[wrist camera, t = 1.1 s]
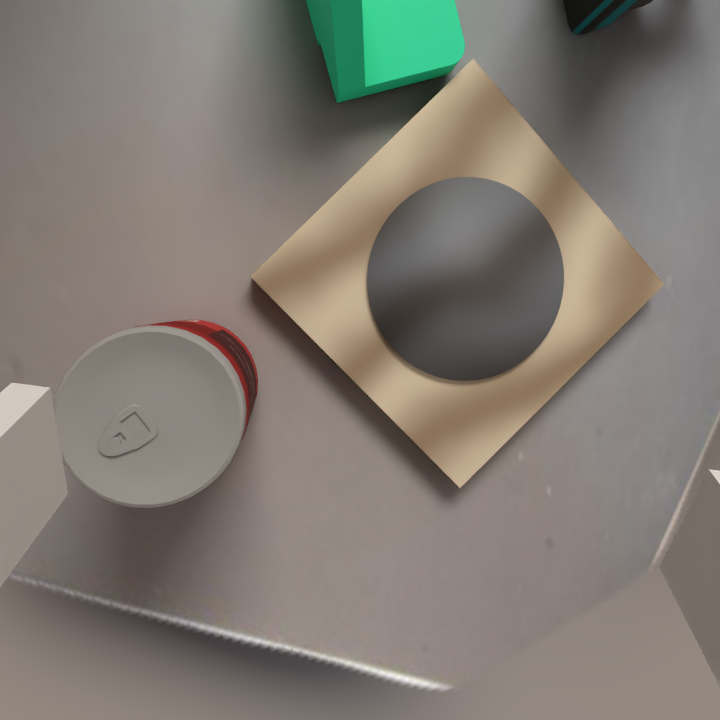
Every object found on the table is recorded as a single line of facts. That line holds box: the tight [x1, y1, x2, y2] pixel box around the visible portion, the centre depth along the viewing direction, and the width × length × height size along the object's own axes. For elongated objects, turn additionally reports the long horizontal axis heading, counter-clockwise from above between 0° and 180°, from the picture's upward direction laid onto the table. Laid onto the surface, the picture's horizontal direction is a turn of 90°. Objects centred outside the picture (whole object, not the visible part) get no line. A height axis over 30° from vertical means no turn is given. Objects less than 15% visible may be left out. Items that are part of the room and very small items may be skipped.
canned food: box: [53, 320, 258, 508], centre depth 30 cm, size 8×8×11 cm
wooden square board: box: [250, 59, 664, 488], centre depth 35 cm, size 18×18×2 cm
